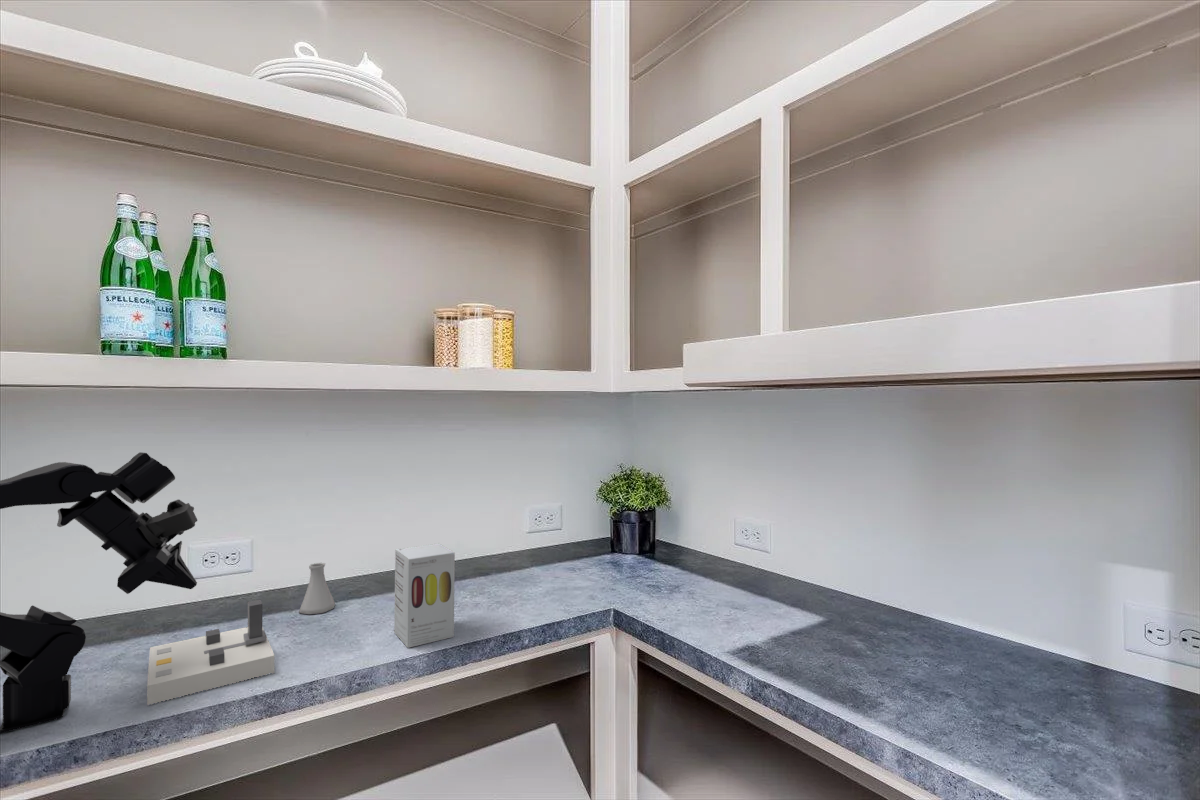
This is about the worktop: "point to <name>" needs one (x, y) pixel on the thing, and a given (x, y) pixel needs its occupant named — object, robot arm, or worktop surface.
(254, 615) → the handle
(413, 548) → the supplement box
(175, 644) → the panel
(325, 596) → the flask
